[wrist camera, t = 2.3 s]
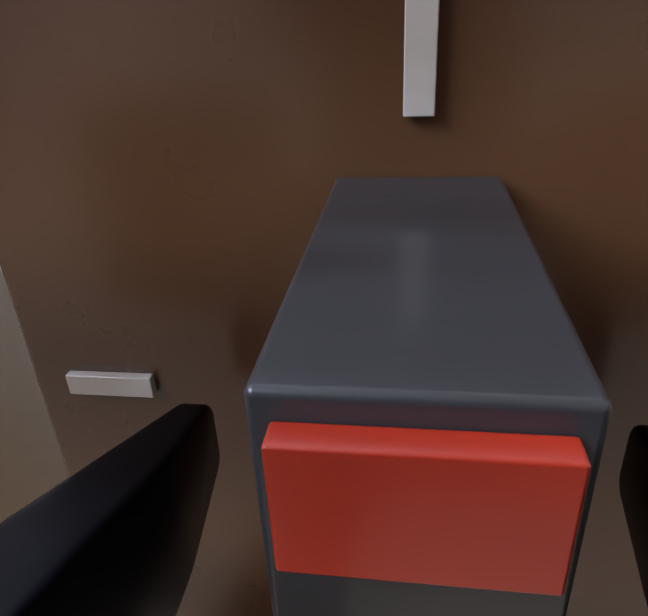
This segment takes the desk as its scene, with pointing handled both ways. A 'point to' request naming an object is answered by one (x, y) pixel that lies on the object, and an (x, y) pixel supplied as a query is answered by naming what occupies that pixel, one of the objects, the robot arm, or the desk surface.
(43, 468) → the desk surface
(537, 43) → the base
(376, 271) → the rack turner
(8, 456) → the desk surface
